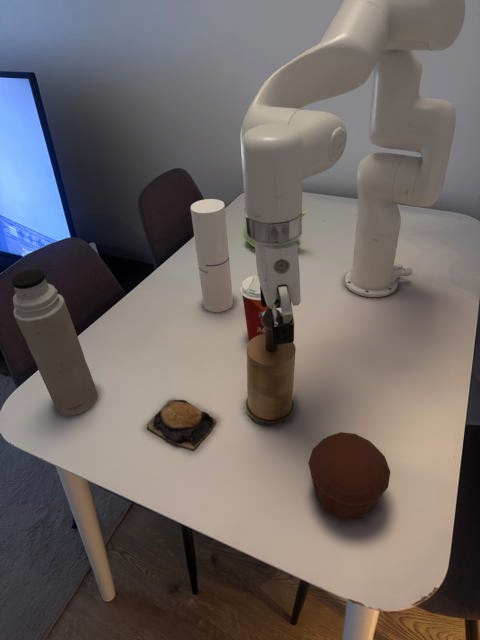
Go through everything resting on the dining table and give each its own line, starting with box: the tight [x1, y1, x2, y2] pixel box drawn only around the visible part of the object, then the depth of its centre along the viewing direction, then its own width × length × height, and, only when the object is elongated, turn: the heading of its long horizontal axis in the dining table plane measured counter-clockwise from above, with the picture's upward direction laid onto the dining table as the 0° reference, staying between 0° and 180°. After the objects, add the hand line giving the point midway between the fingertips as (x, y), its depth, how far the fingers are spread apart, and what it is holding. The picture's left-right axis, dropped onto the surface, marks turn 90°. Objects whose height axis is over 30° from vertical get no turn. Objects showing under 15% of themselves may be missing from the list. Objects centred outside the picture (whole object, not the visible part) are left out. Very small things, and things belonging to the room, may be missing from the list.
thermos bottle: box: [11, 268, 99, 416], centre depth 80 cm, size 8×8×28 cm
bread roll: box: [146, 399, 217, 451], centre depth 81 cm, size 11×8×4 cm
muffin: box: [308, 432, 391, 521], centre depth 66 cm, size 12×11×10 cm
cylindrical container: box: [190, 198, 234, 313], centre depth 104 cm, size 7×7×25 cm
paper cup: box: [239, 274, 269, 342], centre depth 96 cm, size 8×8×14 cm
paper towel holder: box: [245, 308, 297, 426], centre depth 77 cm, size 9×9×22 cm
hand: (276, 322), depth 73 cm, fingers open, 9 cm apart
